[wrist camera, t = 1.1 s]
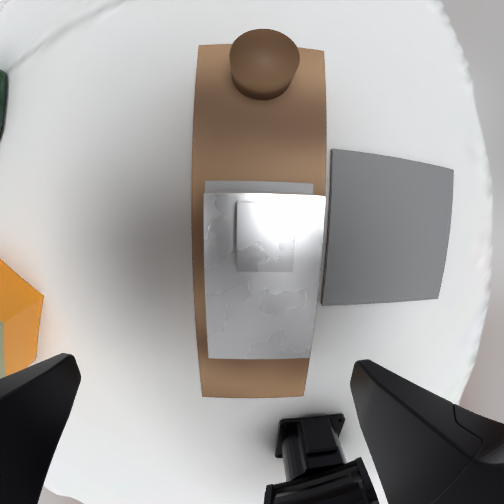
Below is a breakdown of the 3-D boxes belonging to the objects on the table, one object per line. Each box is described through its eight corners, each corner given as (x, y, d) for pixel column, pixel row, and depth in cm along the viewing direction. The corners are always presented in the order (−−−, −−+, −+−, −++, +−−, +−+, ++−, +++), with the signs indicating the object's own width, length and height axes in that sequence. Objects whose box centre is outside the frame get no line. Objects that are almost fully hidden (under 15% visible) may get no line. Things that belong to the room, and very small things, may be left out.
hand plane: (294, 364, 21) (309, 420, 15) (208, 364, 21) (198, 421, 15) (309, 74, 16) (336, 31, 10) (207, 70, 16) (191, 24, 10)
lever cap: (295, 318, 16) (313, 368, 11) (216, 318, 16) (206, 368, 11) (303, 192, 14) (331, 197, 9) (214, 190, 14) (200, 193, 9)
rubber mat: (435, 296, 21) (437, 298, 20) (321, 303, 20) (322, 305, 20) (450, 169, 18) (453, 169, 18) (330, 149, 18) (332, 148, 17)
